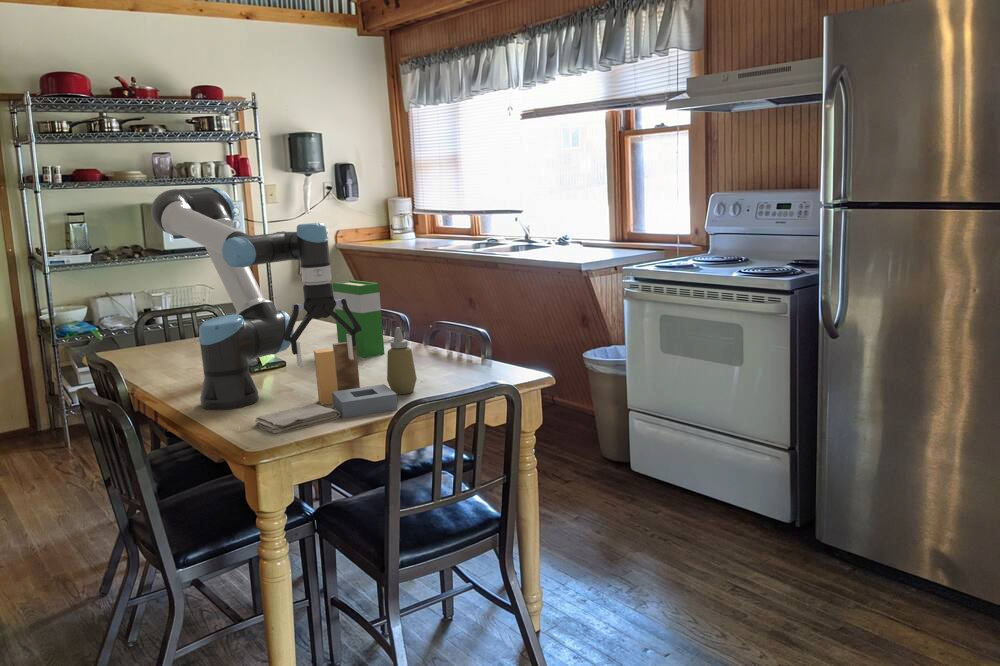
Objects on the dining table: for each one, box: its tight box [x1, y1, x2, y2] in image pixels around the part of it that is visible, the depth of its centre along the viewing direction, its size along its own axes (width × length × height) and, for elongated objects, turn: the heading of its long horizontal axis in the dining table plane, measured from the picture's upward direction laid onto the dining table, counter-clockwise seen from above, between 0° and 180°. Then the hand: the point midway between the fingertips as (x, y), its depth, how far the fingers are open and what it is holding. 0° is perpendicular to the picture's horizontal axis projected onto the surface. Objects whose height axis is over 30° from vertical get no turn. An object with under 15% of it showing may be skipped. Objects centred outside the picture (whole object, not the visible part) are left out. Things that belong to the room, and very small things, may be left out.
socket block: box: [332, 383, 399, 419], centre depth 216 cm, size 14×12×4 cm
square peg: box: [313, 347, 338, 406], centre depth 224 cm, size 4×4×14 cm
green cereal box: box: [332, 279, 385, 359], centre depth 285 cm, size 18×7×24 cm, turn 40°
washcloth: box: [255, 403, 341, 434], centre depth 207 cm, size 12×18×3 cm, turn 132°
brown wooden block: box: [332, 342, 361, 391], centre depth 233 cm, size 6×2×14 cm, turn 112°
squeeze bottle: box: [386, 326, 417, 395], centre depth 229 cm, size 8×8×18 cm
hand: (325, 362), depth 223 cm, fingers open, 13 cm apart
